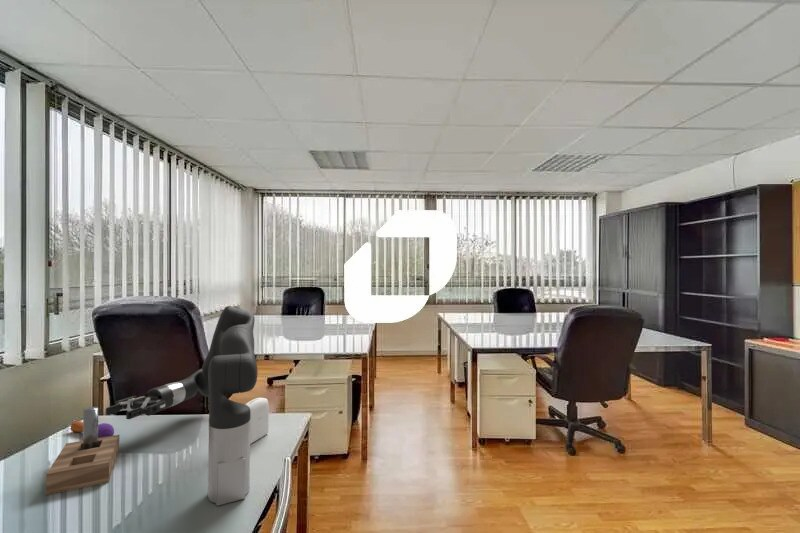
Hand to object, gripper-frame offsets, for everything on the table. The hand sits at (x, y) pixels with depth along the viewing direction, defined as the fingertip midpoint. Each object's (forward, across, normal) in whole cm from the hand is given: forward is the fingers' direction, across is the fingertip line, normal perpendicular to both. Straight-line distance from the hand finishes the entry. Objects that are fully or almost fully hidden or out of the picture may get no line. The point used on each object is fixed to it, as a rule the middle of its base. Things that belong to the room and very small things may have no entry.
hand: (116, 413), depth 113 cm
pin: (+7, 0, +10) cm, 12 cm away
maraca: (-4, -17, +12) cm, 21 cm away
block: (+10, +3, +11) cm, 15 cm away
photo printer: (-21, +32, +11) cm, 40 cm away
